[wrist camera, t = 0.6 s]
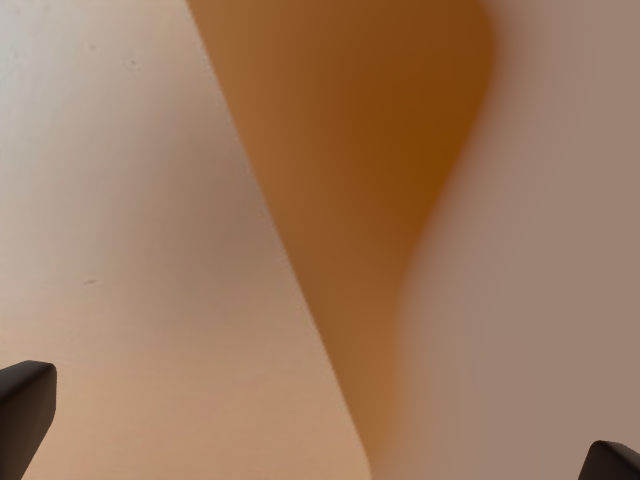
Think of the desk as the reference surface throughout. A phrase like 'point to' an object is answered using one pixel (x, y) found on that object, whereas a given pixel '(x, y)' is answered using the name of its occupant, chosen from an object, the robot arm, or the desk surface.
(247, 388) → the desk surface
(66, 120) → the desk surface
